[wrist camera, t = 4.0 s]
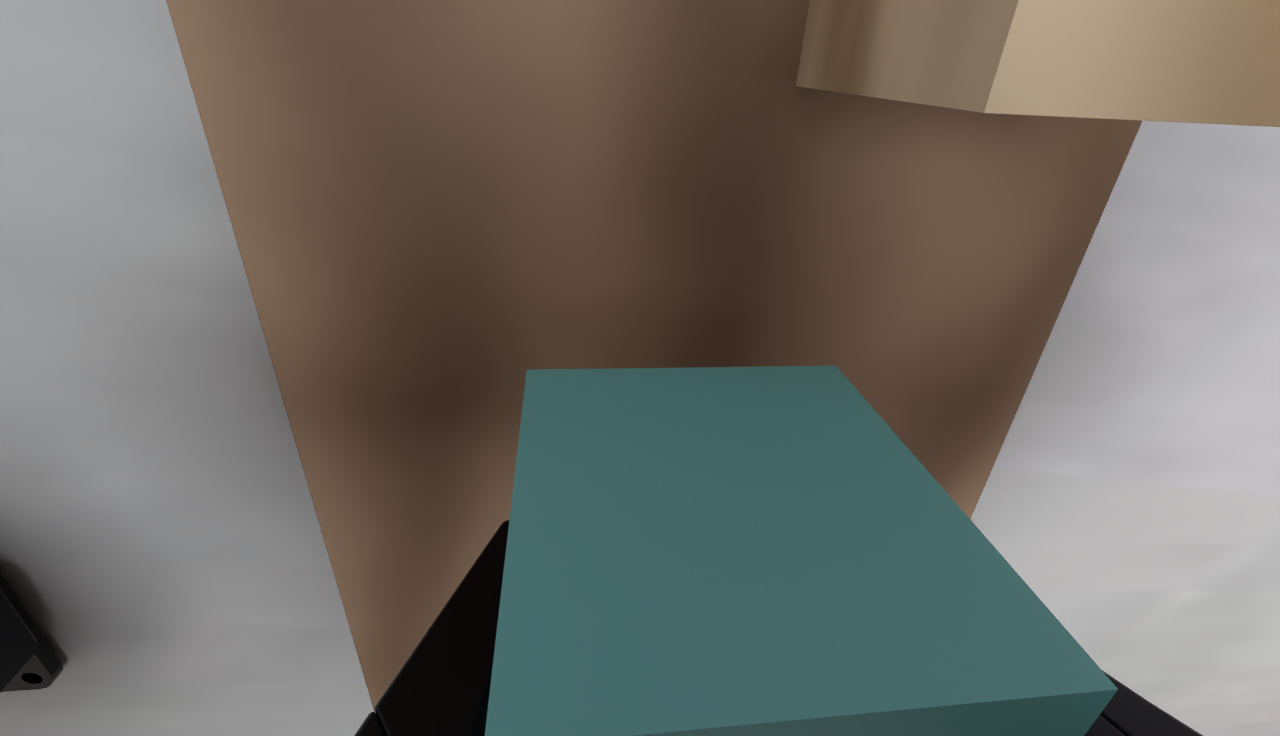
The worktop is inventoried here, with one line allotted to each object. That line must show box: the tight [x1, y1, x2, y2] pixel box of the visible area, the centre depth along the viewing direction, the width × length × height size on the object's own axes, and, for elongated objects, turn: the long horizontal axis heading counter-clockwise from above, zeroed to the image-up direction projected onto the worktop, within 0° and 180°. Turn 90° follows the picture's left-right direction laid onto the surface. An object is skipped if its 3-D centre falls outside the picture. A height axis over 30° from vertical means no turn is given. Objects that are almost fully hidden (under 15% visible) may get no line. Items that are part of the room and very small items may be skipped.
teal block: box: [485, 366, 1118, 736], centre depth 8 cm, size 5×5×6 cm
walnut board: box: [166, 0, 1142, 712], centre depth 14 cm, size 18×25×1 cm
